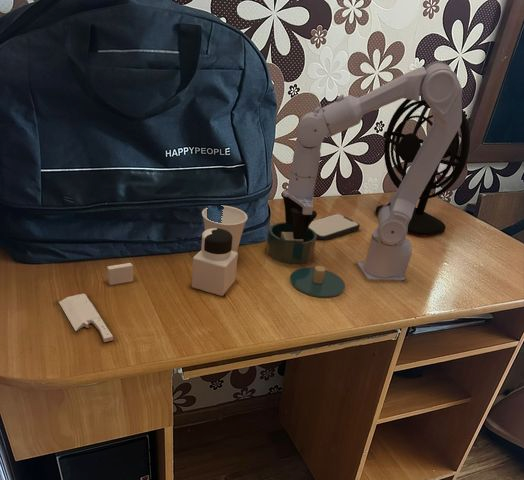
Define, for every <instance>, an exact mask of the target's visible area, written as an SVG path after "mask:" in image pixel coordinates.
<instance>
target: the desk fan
mask: <svg viewBox="0 0 524 480" xmlns="http://www.w3.org/2000/svg"><path fill="white" fill-rule="evenodd" d="M421 96H422V95H419V97H421ZM412 101H413V100H410V99H405V100H404V101H402V102H401V103H400V104H399V106H398V107H397V108H396V110H395V111H394V113H393V114H392V117H391V118H390V120H389V123H388V126H387V129H386V131H383V134H382V137H383V139H384V142H383V143H384V144H383V146H384V147H383V155H384V163H385V168H386V171H387V173H388V176H389V178H390V180H391V182H392V184H393V185H394V186H395V187H396V188H397V189H398V188H399V186H400V184H401V182H402V180H403V179H404V177H405V175H406V173H407V171H408V164H412V162H413V160H414V158H415V156H416V154H417V152H418V151H419V149H420V147H421V145H422V143H423V141H424V139H422V138H419V137H418V135H417V133H418V131H419V129H420V128H421V126H422V125H423V124H424V123H425V122H426V123H428V124H429V126H430V127H431V126H432V124H433V123H434V122H432V121H431V120H430V119H432V118H433V115H429V116H427V117H426V116H425V115H426V113H427V111H428V110H429V109H430V106H429V105H428V104H427V102H426V101H425V99H419V101H413V102H412ZM423 106H424V107H423ZM422 107H423V109H422V111H421V113H420V115H413V114H414V113H415V112H416V111H417V110H419V109H420V108H422ZM410 108H411V109H410ZM409 109H410V110H409ZM408 110H409V111H408ZM406 111H408V112H407V113H406ZM404 113H406V115H405V116H404V118H403V119H402V120H401V122H400V123H399V124H398V125H397V123H398V121H399V120H400V118H401V117H402V116H403V114H404ZM414 118H416V119H417V118H418V119H417V121H416V124H415V126H414V129H413V132H409V133H406V134H405V133H402V132H403V130H404V128H405V126H406V123H407V122H408V121H410V120H411V119H414ZM396 125H397V127H396ZM395 127H396V128H395ZM459 130H460V132H461V134H459ZM459 130H458V131H457V133H456V135H455V136H454V138H453V140H452V142H451V143H450V145H449V147H448V149H447V150H446V152H445V154H444V156H443V157H442V159H441V161H440V163H439V164H438V166H437V168H436V170H435V171H434V173H433V175H432V177H431V178H430V180H429V182H428V184H427V185H426V187H425V189H424V191H423V192H422V194H421V196H420V198H419V199H418V202H417V206H415V207H414V211H413V215H412V218H411V220H410V222H409V224H408V232H407V234H408V233H409V234H412V235H415V236H421V237H428V236H429V237H430V236H433V235H436V234H441V233H443V232H445V231H446V228H447V227H446V224H445V223H444V221H442V220H441V219H439V218H437V217H435V216H433V215H432V214H429V213H428V212H425V209H426V206H427V204H428V201H429V199H432V198H436V197H439V196H440V195H442V194H444V193H445V192H447V191H448V190H449V189H451V187H452V186H454V184H455V183H456V182H457V181H458V179H459V177H461V175H462V173H463V170H464V168H465V167H466V164H467V161H468V157H469V153H470V145H471V133H470V126H469V121H468V117H467V115H466V113H465V111H464V109H463V108H462V123H461V125H460V127H459ZM460 135H461V149H460ZM459 151H460V152H459ZM459 153H460V154H459ZM458 154H459V155H458ZM447 158H449V160H447ZM401 160H402V161H403V166H402V163H401V162H402V161H401ZM441 164H442V165H445V166H446V167H445V168H444V169H443V170H441V171H439V167H440V165H441ZM452 167H454V168H453V170H452V172H450V174H449V171H450V170H451V168H452ZM395 170H396V171H397V172H398V174H399V175H400V176H401V179H400V178H399V176H398V175H397V174H396V172H395ZM438 171H439V172H438ZM448 174H449V176H448ZM439 175H440V176H439ZM437 176H439V178H437V179H436V177H437ZM446 176H447V177H446ZM444 185H445V186H444ZM443 186H444V187H443ZM441 187H442V188H441ZM438 188H441V189H440V190H438V191H436V192H434V193H432V194H431V192H432V190H436V189H438ZM386 204H387V203H385V204H379V205H377V206H376V207H375V214H376V215H377V216H378V212H379V210H380V209H381V208H382V207H383V206H384V205H386Z"/></svg>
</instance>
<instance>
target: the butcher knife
mask: <svg viewBox="0 0 524 480" xmlns="http://www.w3.org/2000/svg"><path fill="white" fill-rule="evenodd" d="M58 303H59V306H60V308H61V309H62V310H63V312H64V315H65V316H66V317H67V319H68V321H69V322H70V324H71V326H72V328H73V330H74V331H75V332H77V331H79V330H80V329H82V328H84V327H85V328H87V329H88V328H90V326H89V325H90V324H92V325H93V326H94V327H95V328H96V330H98V332H99V334H100V336H101V338H102V341H103V343H107V342H111V341H114V336H113V334H112V332H111V331H110V330H109V328H108V327H107V324H106V323H105V321H104V320H103V319H102V317H101V315H100V313H99V312H98V310H97V309H96V306H94V304H93V302H92V301H90V298H89V297H88V296H87V294H86V293H80V294H78V293H77V294H75V295H70V296H66V297H65V298H63V299H61V300H60V301H58Z"/></svg>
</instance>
